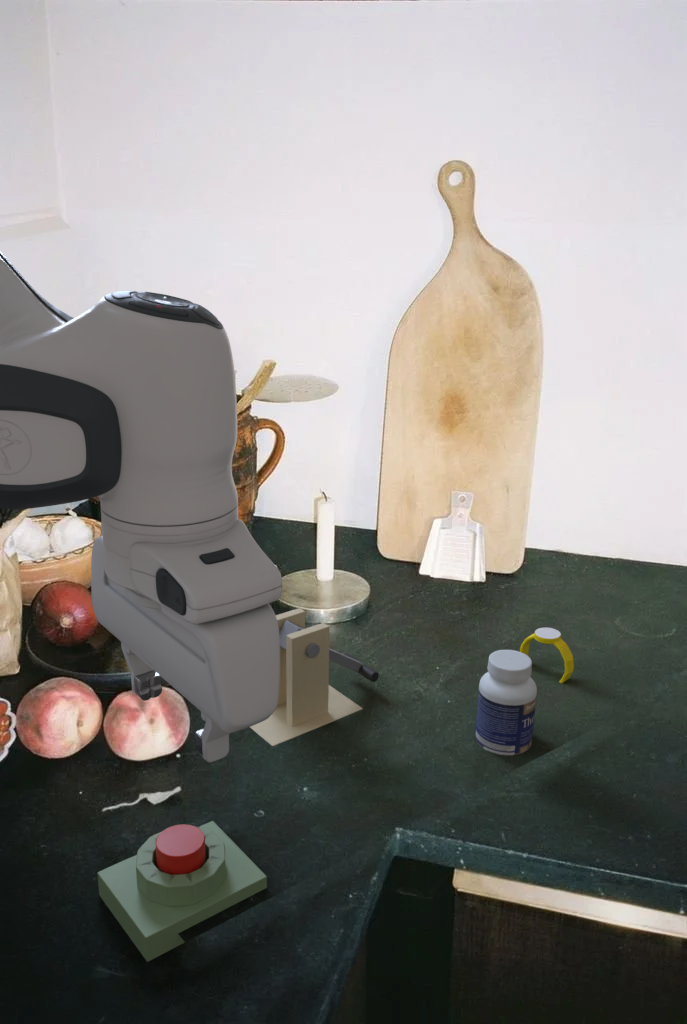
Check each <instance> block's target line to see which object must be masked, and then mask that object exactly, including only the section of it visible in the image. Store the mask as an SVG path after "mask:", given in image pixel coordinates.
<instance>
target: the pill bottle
mask: <svg viewBox="0 0 687 1024" xmlns="http://www.w3.org/2000/svg"><path fill="white" fill-rule="evenodd" d="M532 667H533V661H532V659H531V657H530V656H529V657H528V656H527V655H526V654H524V653H521V652H520V651H518V650H514V649H499V650H494V651H493V652H491V653H490V654H489V656H488V661H487V671H486V672H485V673H484V674H483V675H482V676H481V678H480V680H479V683H478V695H477V706H476V707H477V708H476V719H475V733H474V738H475V741H476V743H477V744H478V745H479V747H481V748H482V749H483V750H485V751H487V752H490V753H492V754H495V755H500V756H516V755H520V754H521V755H522V754H523V753H525V752H527V751H529V749H530V748H531V746H532V743H533V742H532V741H533V733H534V725H535V715H536V704H537V695H538V688H537V684H536V682H535V680H534V679H533V677H531V676H532Z"/></svg>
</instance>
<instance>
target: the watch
mask: <svg viewBox="0 0 687 1024" xmlns="http://www.w3.org/2000/svg"><path fill="white" fill-rule="evenodd" d="M533 640H535V641H536V642H538V643H540V644H544V645H553V646H554V647H555V648H556V649H557V650H558V651H559V653H560V656H561V657H562V659H563V662H564V663H563V664H564V673H563V674H562V676H561V678H560V680H559V681H558V683H560V684H563V683H565V682H566V681H568V680H569V679H571V676H572V674H573V672H574V668H575V666H574V665H575V664H574V663H575V662H574V655H573V653H572V651H571V649H570V647H569V645H568V644H567V643H566V642H565V640H563V638H562V633H561V631H559V630H558V629H556V628H553V627H539V628H537V629H535V630H534V632H533V633H532V634H530V635H529V636H527V637H526V638H524V640H523V642H522V643H521V644H520V647H519V652H521V653H524V654H526V655H527V656H528V657H529V658H530V655H529V651H530V644H531V643H532V641H533Z"/></svg>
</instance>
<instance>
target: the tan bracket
mask: <svg viewBox="0 0 687 1024" xmlns="http://www.w3.org/2000/svg"><path fill="white" fill-rule="evenodd" d="M275 615H276V619H277V622H278V627H279V632H280V630H281V629H282V627H283V625H284V623H285V621H286V620H287V621H289V622H291V623H294V624H296V625H298V626H300V627H302V628H305V629H303V630H300V631H297V632H294V633H291V634H288V635H286V649H284V648H283V647H281V646H280V689H279V700H278V705H277V708H276V710H275V711H274V712H273V714H272V715H271V716H270V717H269V718H268V719H266V720H265V721H262V722H260V723H258V724H255V725H253V726H250V727H249V728H250V729H251V730H253V731H254V732H255V733H256V734H257V735H258V736H259V737H261V738H262V739H263V740H264V741H265V742H267V743H268V744H269V745H270V746H271V747H275V746H278V745H280V744H281V743H284V742H287V741H289V740H292V739H294V738H297V737H299V736H302V735H304V734H306V733H308V732H311V731H313V730H316V729H318V728H321V727H323V726H326V725H328V724H330V723H333V722H335V721H338V720H340V719H342V718H345V717H348V716H349V715H352V714H354V713H357V712H360V711H361V710H363V709H364V708H363V707H362V706H360V705H359V704H357V702H354V701H353V700H352V699H350V698H349V697H347V696H346V695H344V694H343V693H342V692H340V691H338V690H337V689H336V688H334V687H333V686H332V685H330V660H329V648H330V625H328V624H327V623H325V622H321V623H318V624H315V625H312V626H310V627H306V611H305V610H304V609H302V608H300V607H298V608H295V609H292V610H289V611H285V612H282V613H279V614H275Z"/></svg>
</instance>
